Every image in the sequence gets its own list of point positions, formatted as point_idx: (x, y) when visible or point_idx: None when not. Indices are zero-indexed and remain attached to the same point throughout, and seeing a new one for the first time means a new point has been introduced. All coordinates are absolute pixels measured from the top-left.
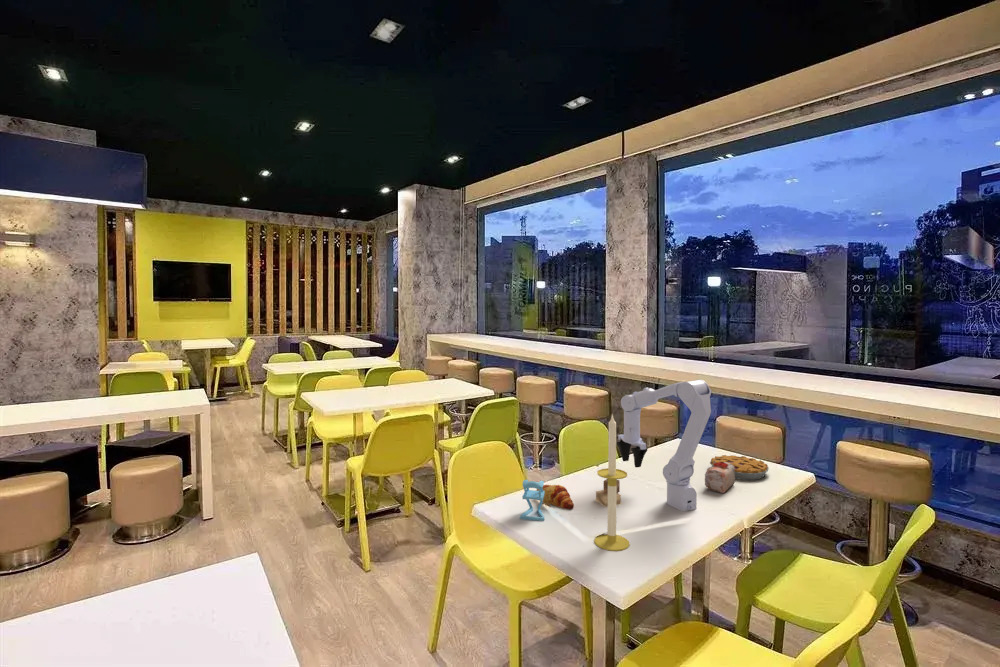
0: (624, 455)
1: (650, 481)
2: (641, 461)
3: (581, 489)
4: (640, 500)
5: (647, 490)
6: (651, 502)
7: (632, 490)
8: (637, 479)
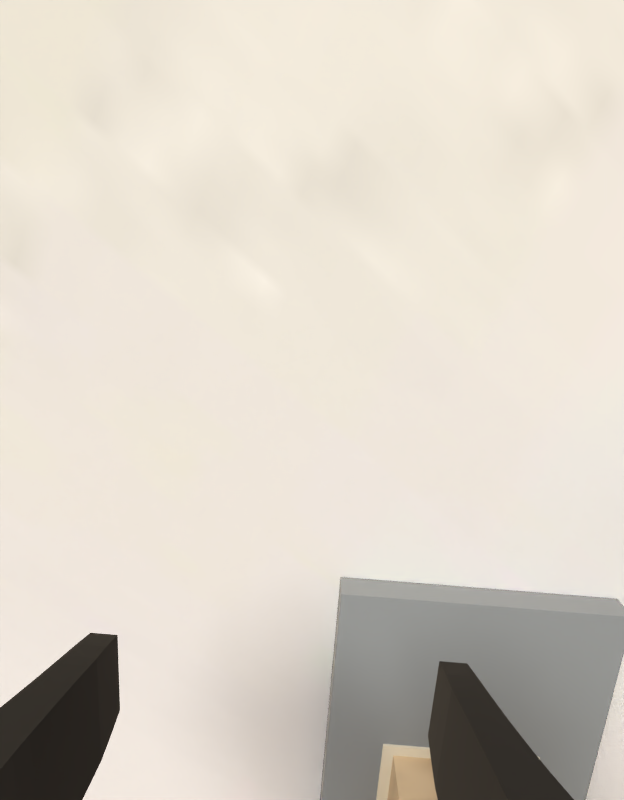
0: (65, 791)
1: (135, 125)
2: (512, 744)
3: (104, 769)
4: (488, 545)
5: (335, 339)
6: (568, 498)
7: (276, 460)
8: (36, 217)
